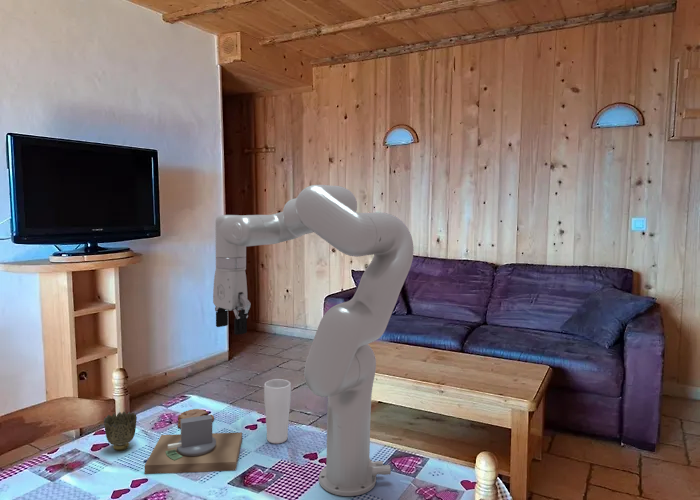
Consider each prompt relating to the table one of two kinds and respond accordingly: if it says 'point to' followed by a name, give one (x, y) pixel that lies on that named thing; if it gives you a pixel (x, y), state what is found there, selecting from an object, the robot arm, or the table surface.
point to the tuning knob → (195, 436)
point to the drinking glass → (277, 409)
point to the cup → (120, 429)
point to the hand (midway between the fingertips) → (231, 329)
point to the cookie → (192, 415)
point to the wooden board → (215, 460)
